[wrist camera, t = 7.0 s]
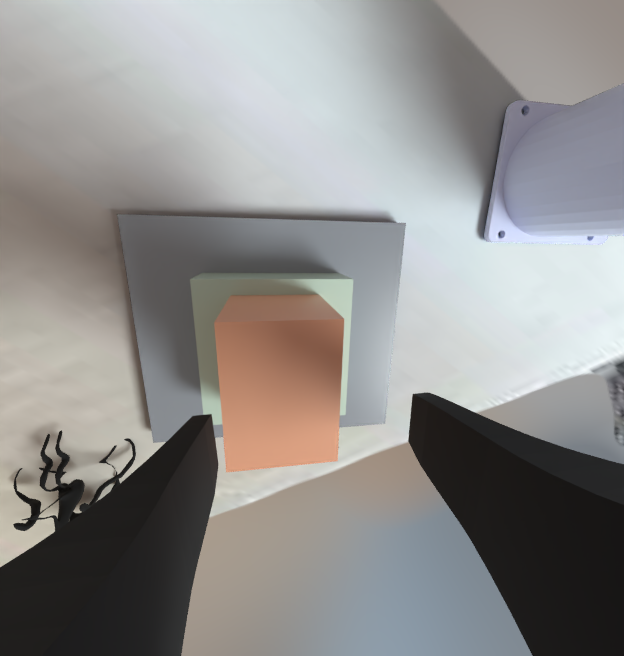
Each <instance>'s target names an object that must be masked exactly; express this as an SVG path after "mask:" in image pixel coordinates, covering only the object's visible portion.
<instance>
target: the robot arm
mask: <svg viewBox="0 0 624 656" xmlns="http://www.w3.org/2000/svg"><path fill="white" fill-rule="evenodd" d="M522 109H523V110H524V114H523V115H522ZM499 232H500V233H501V235H500V237H498V233H499ZM608 236H624V83H623V84H621V85H618V86H617V87H614V88H612V89H609V90H607V91H605V92H602V93H600V94H598V95H596V96H593V97H591V98H589V99H587V100H584V101H582V102H580V103H577V104H575V105H573V106H569V105H561V104H551V103H541V102H533V101H523V100H516V101H514V102H513V103H511V104H510V105H509V106H508V107H507V110H506V114H505V120H504V125H503V131H502V137H501V142H500V148H499V154H498V159H497V165H496V171H495V176H494V182H493V188H492V193H491V199H490V205H489V210H488V216H487V222H486V227H485V233H484V238H485V240H486V241H487V242H500V243H547V244H595V245H600V244H603V243H605V241H606V240H607V238H608ZM587 237H588V238H587ZM408 441H409V443H410V445H411V447H412V449H413V451H414V453H415V455H416V457H417V459H418V461H419V463H420V465H421V467H422V468H423V469H424V471H425V472H426V474H427V476H428V477H429V479H430V480H431V482H432V483H433V485H434V486H435V487H436V489H437V490H438V492H439V493H440V495H441V496H442V498H443V499H444V501H445V502H446V503H447V505H448V506H449V508H450V509H451V511H452V512H453V514H454V515H455V517H456V518H457V519H458V521H459V522H460V524H461V525H462V527H463V528H464V530H465V531H466V533H467V535H468V536H469V538H470V539H471V541H472V543H473V544H474V546H475V548H476V550H477V551H478V553H479V555H480V557H481V559H482V560H483V562H484V564H485V566H486V567H487V569H488V571H489V573H490V574H491V576H492V578H493V580H494V582H495V584H496V586H497V587H498V589H499V591H500V593H501V595H502V597H503V599H504V601H505V602H506V604H507V606H508V608H509V610H510V612H511V613H512V616H513V618H514V619H515V622H516V624H517V626H518V628H519V630H520V632H521V634H522V635H523V637H524V639H525V641H526V643H527V645H528V647H529V649H530V651H531V653H532V655H533V656H624V464H620V463H616V462H612V461H608V460H605V459H601V458H598V457H594V456H591V455H587V454H583V453H580V452H577V451H574V450H570V449H567V448H564V447H561V446H558V445H555V444H552V443H549V442H546V441H544V440H541V439H538V438H535V437H532V436H529V435H527V434H524V433H522V432H519V431H517V430H514V429H512V428H509V427H507V426H505V425H502V424H499V423H497V422H495V421H493V420H490V419H488V418H486V417H483V416H481V415H479V414H477V413H475V412H472V411H470V410H468V409H466V408H464V407H462V406H459V405H457V404H455V403H453V402H450V401H448V400H446V399H444V398H441V397H439V396H436V395H434V394H431V393H419V394H413V397H412V408H411V419H410V429H409V440H408ZM217 471H218V458H217V450H216V443H215V435H214V428H213V420H212V414H206V415H196V416H192V417H191V418H190V419H189V420H188V421H187V422H186V423H185V424H184V425H183V426H182V427H181V428H180V429H179V430H178V431H177V432H176V433H175V434H174V435H173V436H172V437H171V438H170V439H169V440H168V441H167V442H166V443H165V444H164V445H163V446H162V447H161V448H160V449H159V450H158V451H157V452H155V453H154V454H153V455H152V456H151V457H150V458H149V459H148V460H147V461H146V462H144V463H143V464H142V465H141V466H140V467H139V468H138V469H137V470H135V471H134V472H133V473H132V474H131V475H130V476H129V477H128V478H126V479H125V480H124V481H123V482H122V483H121V484H119V485H118V486H117V487H116V488H114V489H113V490H112V491H111V492H109V493H108V494H107V495H106V496H104V497H103V498H102V499H100V500H99V501H98V502H96V503H95V504H94V505H92V506H91V507H90V508H89V509H87V510H86V511H84V512H83V513H82V514H80V515H79V516H78V517H76V518H75V519H73V520H72V521H70V522H69V523H67V524H66V525H64V526H63V527H61V528H60V529H58V530H57V531H56V532H54V533H53V534H51V535H50V536H48V537H47V538H45V539H44V540H42V541H41V542H39V543H38V544H36V545H35V546H33V547H32V548H30V549H29V550H27V551H26V552H24V553H23V554H21V555H19V556H18V557H16V558H15V559H13V560H11V561H10V562H8V563H7V564H5V565H3V566H2V567H0V656H181V653H182V646H183V639H184V633H185V627H186V621H187V614H188V608H189V602H190V596H191V590H192V585H193V580H194V576H195V571H196V567H197V563H198V559H199V555H200V551H201V547H202V543H203V539H204V535H205V531H206V527H207V523H208V519H209V515H210V511H211V507H212V503H213V499H214V494H215V487H216V480H217Z"/></svg>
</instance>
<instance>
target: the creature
mask: <svg viewBox="0 0 624 656" xmlns="http://www.w3.org/2000/svg"><path fill="white" fill-rule="evenodd" d="M61 436H62V430H61V431H60V432H59V435H58V439H57V444H56V448H55V449H56V453H57V455H58V456H60V457H61V458H62V462H61V463H60V465H59V466H58V468H57V471H56V472H55V471H50V469H51V467H52V466H53V461H52V459H51V458H49V457H48V456H47V455H46V454H45V449H46V446H47V444H48V441H49V438H50V434H48V435H47V437H46V440H45V442H44V445H43V448H42V450H41V457H42V460H43V461H44V462H45V463H46V466H45V468H39V469H41V470H43V473H42V475H41V477H40V486H41V488H43V489H44V490H45V491H49V492H51V491H57V490H58V491H59V496H58V497H59V498H58V499H57V500H56V501H55V502H54V503H56V502H57V501H58V500H59V513H58V519H57V517H56V516H54V515H53V516H49V517H46V518H50V517H52V518H53V519H54V524H55V532H56V531H57V530H58V529H60V528H61V527H63V526H64V525H66V524H67V523H69V522H70V521H72V520H73V519H75V518H76V517H78V516H79V515H80V514H82V513H83V512H84V511H86V510H87V509H89V508H90V507H91V506H92V505H94V504H95V503H96V501H97V500H98V498H99V496H100V494H101V492H102V491H103V489H104V488H105V487H106V486H108V485H109V484H111V483H112V482H114V481H115V480H116V483H115V485H114V486H113V488H112V490H113V489H114V488H116V487H117V486H118V485H119V484H120V482H119V478H121V477H122V476H123V475H124V474H125V473H126V472H127V470H128V469H129V468H130V467H131V466H132V464H133V462H134V460H135V456H136V452H135V445H134V443H133V442H132V441H131V440H130V439H124V440H126V441H129V442H130V443H131V445H132V451H133V457H132V459H131V460H130V461H129V462H128V464H127V465H126V466H125V468H124V469H123V470H122V472H121V473H120V474H118V475H117V471H116V475H115V477H113V478H111V479H110V480H108V481H107V482H105V483H104V484H103V485H101V486H100V487H99V488H98V489H97V491H96V494H95V496H94V498H93V499H92V501H91V502H90V504H89V505H88V504H86V503H84V504H82V505H80V511H82V513H74V512H73V511H74V509H75V507H76V505H77V504H78V502H79V501H80V499H81V497H82V494H83V492H84V486H85V485H84V482H83V481H82V480H79V479H76V480H74V481H72V482H71V483H70V484H66V483H62V484H61V481H60V478H61V477H62V476H63V475H64V474H65V473H66V472H63V469H64V467H65V466H66V465H67V463H68V462H69V459H70V457H69V456H68V455H67V454H65V453H63V452H62V451H61V450H60V448H59V442H60V440H61ZM116 446H117V445H116ZM116 446H114V447H113V449H112V450H111V452H110V454H109V455H108V456H107V457H106V458H105V459H103V460H102V461H100V462H99V463H107V462H106V460H107V458H108V457H109V456H110V455H111V453H112V452H113V451H114V450H115V448H116ZM107 464H108V463H107ZM109 465H110V464H109ZM111 466H112V465H111ZM112 467H113V466H112ZM113 468H114V467H113ZM21 469H22V468H21ZM21 469H20V470H21ZM114 469H115V468H114ZM20 470H19V471H18V473H17V474H16V477H15V479H14V489H15V492H16V494H17V495H18V497H19V498H20V499H21V500H23V501H24V502H26V503H28V504H29V505H30V506H31V514H32V515H31V517H30V518H27V519H22V520H28V521H27V522H26V524H25V523H15V524H13V525H14V527H15V528H16V529H17V530H21V531H25V530H28V529H29V528H31V527H32V526H33V525H34V524H35V523H36V521H37V520H39V519H46V518H38V517H39V515H40V514H41V513H42V512H43V511H44V510H43V511H42V512H41V513H40V507H41V502H40V501H38V500H36V499H30V498H28V497H26V496H25V495H23V494H22V493H20V492H18V491H17V486H16V478H17V476H18V474H19V472H20ZM48 472H52V473H56V474H55V478H56V484H58V485H59V486H57V487H56V488H54V489H52V490H48V489H46V487H45V483H46V479H47V475H48ZM112 490H111V491H112ZM98 501H99V500H98ZM98 501H97V502H98ZM54 503H53V504H54ZM53 504H52V505H53ZM50 506H51V505H50ZM50 506H49V507H50ZM46 509H47V508H46ZM46 509H45V510H46ZM69 518H70V520H69Z"/></svg>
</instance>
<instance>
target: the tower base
mask: <svg viewBox="0 0 624 656" xmlns="http://www.w3.org/2000/svg"><path fill="white" fill-rule="evenodd" d="M117 217H118V223H119V230H120V236H121V242H122V248H123V255H124V261H125V267H126V274H127V280H128V286H129V292H130V299H131V305H132V311H133V317H134V324H135V330H136V336H137V343H138V349H139V355H140V361H141V368H142V374H143V380H144V386H145V393H146V399H147V405H148V412H149V418H150V424H151V430H152V437H153V443H155V442H167V441H168V440H169V439H170V438H171V437H172V436H173V435H174V434H175V433H176V432H177V431H178V430H179V429H180V428H181V427H182V426H183V425H184V424H185V423H186V422H187V421H188V420H189V419H190V418H191V417H192V416H196V415H206V414H212V420H213V428H214V435H215V438H216V437H223V425H222V412H221V400H220V388H219V376H218V363H217V351H216V339H215V327H214V322H215V320H216V319H217V317H218V315H219V314H220V312H221V310H222V309H223V307H224V305H225V304H226V302H227V301H228V299H229V297H230V296H231V295H314V294H319V295H320V296H321V297H322V298H323V299H324V300H325V301H326V302H327V303H328V304H329V305H330V306H331V307H332V308H334V309H335V310H336V311H337V312H338V313H339V314H340V315H341V316H342V317H343V318H344V339H343V359H342V379H341V399H340V420H339V427H350V426H363V425H375V424H385V420H386V410H387V400H388V391H389V381H390V371H391V362H392V352H393V342H394V332H395V323H396V313H397V303H398V294H399V284H400V274H401V265H402V255H403V245H404V235H405V226H406V223H388V222H355V221H323V220H291V219H259V218H226V217H194V216H162V215H130V214H117Z"/></svg>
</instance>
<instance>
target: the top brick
mask: <svg viewBox="0 0 624 656" xmlns="http://www.w3.org/2000/svg"><path fill="white" fill-rule="evenodd" d="M214 327H215V339H216V351H217V363H218V376H219V388H220V400H221V412H222V425H223V437H224V449H225V461H226V472H234V471H244V470H254V469H264V468H274V467H283V466H293V465H303V464H313V463H323V462H332V461H337V460H338V440H339V420H340V399H341V379H342V359H343V339H344V318H343V317H342V316H341V315H340V314H339V313H338V312H337V311H336V310H335V309H334V308H332V307H331V306H330V305H329V304H328V303H327V302H326V301H325V300H324V299H323V298H322V297H321V296H320V295H319V294H314V295H231V296H230V297H229V299H228V301H227V302H226V304H225V305H224V307H223V309H222V310H221V312H220V314H219V315H218V317H217V319H216V320H215V322H214Z"/></svg>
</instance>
